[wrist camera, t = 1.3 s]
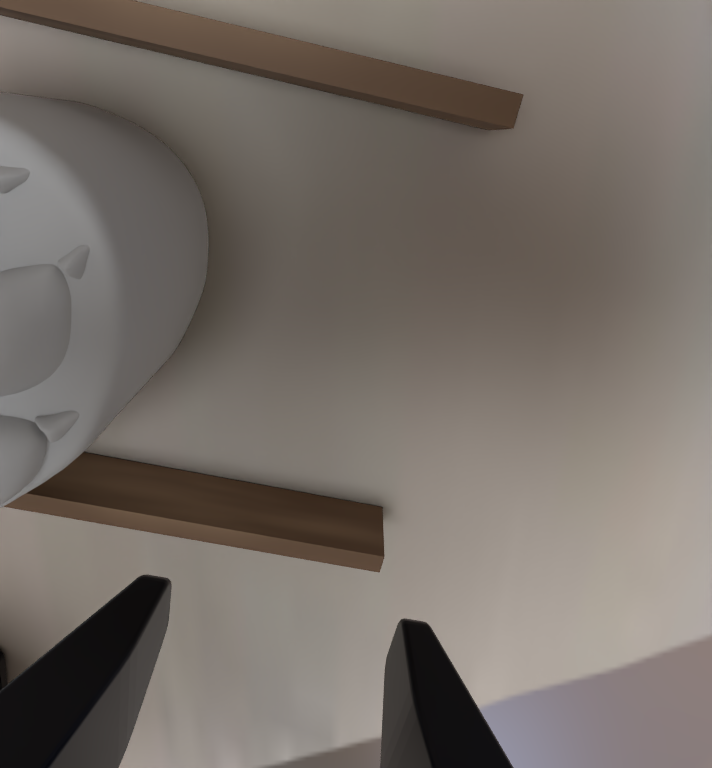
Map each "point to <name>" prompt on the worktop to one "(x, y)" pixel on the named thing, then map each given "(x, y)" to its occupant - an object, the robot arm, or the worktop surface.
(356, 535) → the guide rails
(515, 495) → the worktop surface
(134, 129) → the lumpy-topped squat cylinder
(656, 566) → the worktop surface
